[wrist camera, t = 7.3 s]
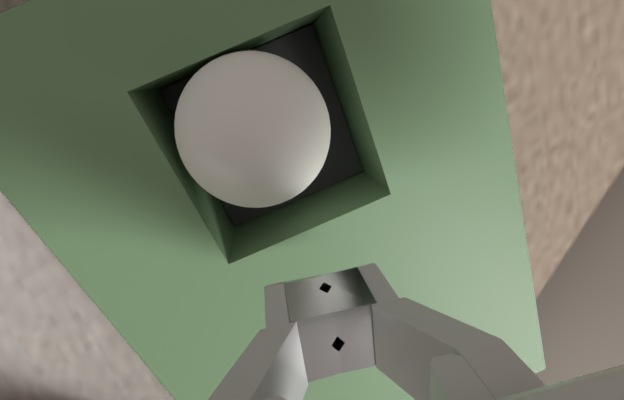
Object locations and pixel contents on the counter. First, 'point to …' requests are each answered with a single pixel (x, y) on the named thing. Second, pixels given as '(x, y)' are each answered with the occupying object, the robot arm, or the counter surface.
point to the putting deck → (278, 218)
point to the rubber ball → (252, 129)
